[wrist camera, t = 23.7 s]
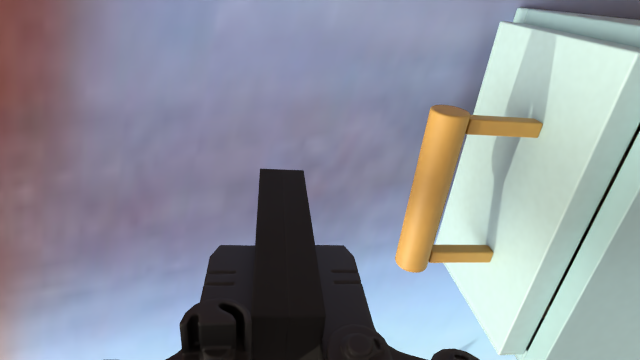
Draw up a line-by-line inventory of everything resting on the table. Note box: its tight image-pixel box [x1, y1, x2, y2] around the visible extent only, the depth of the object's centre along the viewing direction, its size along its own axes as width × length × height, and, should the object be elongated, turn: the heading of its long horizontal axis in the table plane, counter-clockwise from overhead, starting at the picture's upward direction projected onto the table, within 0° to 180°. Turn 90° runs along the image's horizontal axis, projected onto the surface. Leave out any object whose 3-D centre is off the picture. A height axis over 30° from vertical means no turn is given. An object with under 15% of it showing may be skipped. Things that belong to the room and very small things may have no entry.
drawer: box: [395, 21, 640, 355], centre depth 18 cm, size 21×13×7 cm, turn 84°
